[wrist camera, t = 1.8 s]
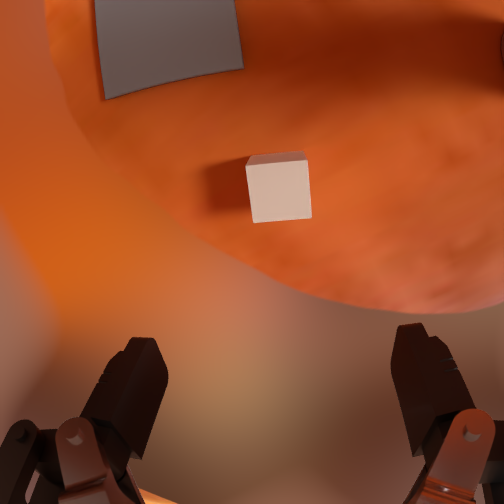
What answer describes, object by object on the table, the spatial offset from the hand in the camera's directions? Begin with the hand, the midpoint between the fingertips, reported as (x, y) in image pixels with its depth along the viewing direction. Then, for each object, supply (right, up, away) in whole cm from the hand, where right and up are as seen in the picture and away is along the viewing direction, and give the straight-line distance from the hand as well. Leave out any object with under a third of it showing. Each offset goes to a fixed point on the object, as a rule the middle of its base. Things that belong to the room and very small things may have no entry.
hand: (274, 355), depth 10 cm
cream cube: (+2, +10, +21) cm, 23 cm away
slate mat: (-9, +28, +13) cm, 32 cm away
